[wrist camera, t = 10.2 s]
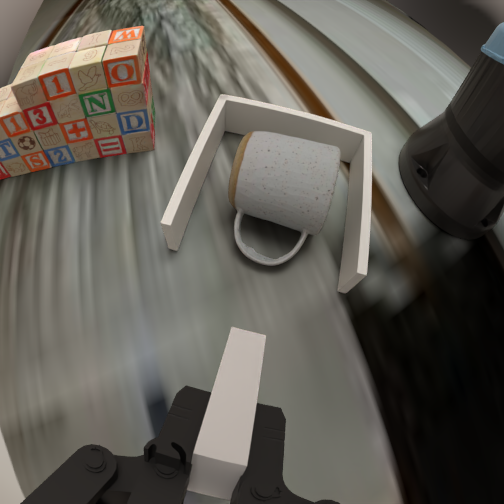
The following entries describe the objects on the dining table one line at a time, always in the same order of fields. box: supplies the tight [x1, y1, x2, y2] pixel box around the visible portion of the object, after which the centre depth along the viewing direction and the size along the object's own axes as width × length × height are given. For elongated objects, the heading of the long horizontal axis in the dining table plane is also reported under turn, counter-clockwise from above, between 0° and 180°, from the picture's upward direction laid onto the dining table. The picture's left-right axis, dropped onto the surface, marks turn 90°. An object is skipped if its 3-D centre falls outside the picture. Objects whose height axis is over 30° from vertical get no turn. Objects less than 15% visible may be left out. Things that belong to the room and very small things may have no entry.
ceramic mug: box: [228, 131, 340, 266], centre depth 26 cm, size 11×8×8 cm
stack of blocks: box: [0, 26, 155, 180], centre depth 26 cm, size 21×6×12 cm, turn 100°
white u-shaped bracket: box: [161, 94, 372, 293], centre depth 28 cm, size 16×16×4 cm
